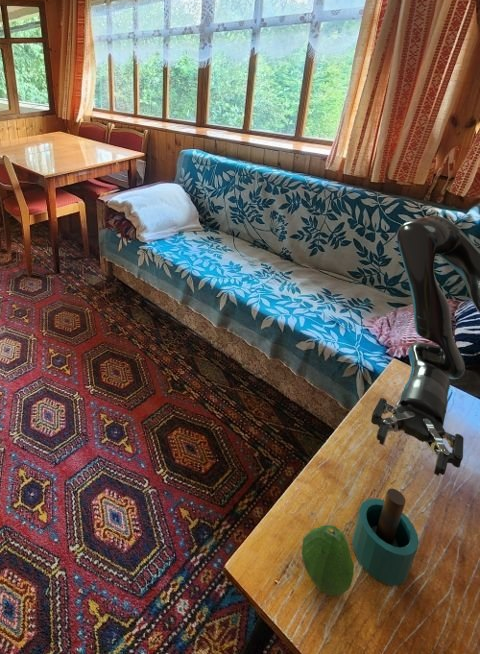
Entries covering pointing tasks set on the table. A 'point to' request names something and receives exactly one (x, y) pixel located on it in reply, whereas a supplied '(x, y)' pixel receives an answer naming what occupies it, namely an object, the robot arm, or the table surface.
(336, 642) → the table surface
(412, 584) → the table surface
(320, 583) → the avocado
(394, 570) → the jar
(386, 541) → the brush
